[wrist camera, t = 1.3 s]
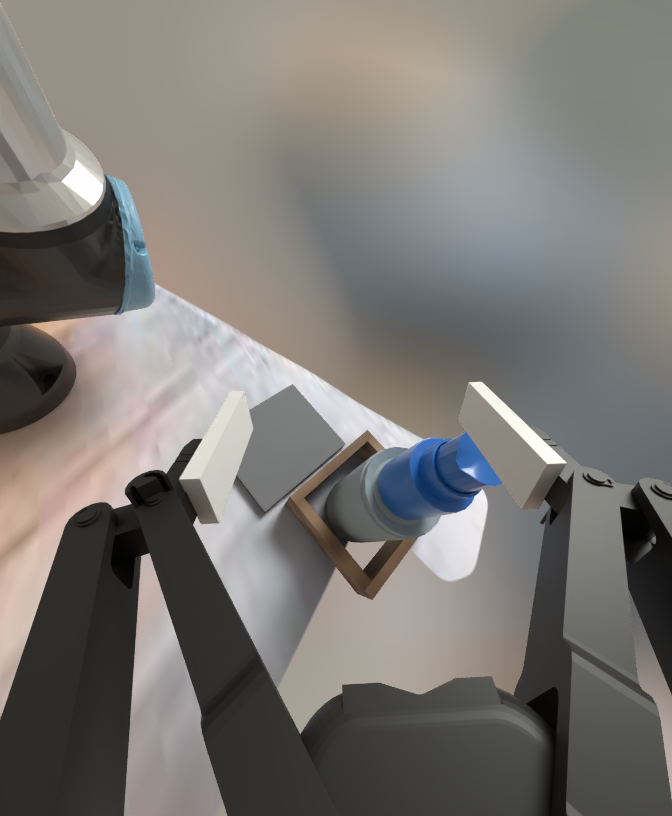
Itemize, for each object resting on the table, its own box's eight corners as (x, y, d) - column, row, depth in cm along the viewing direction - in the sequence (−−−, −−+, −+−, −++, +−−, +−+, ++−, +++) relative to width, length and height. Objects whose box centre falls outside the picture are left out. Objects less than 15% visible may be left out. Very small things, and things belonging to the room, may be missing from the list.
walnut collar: (285, 502, 36) (289, 496, 32) (356, 441, 43) (367, 429, 39) (357, 593, 34) (372, 599, 29) (419, 512, 41) (439, 508, 37)
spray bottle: (378, 474, 42) (509, 397, 21) (391, 537, 38) (568, 522, 17) (323, 479, 39) (407, 395, 18) (330, 547, 35) (450, 543, 14)
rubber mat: (207, 438, 37) (206, 435, 37) (291, 387, 45) (292, 384, 44) (264, 512, 35) (265, 511, 34) (343, 445, 42) (345, 443, 42)
